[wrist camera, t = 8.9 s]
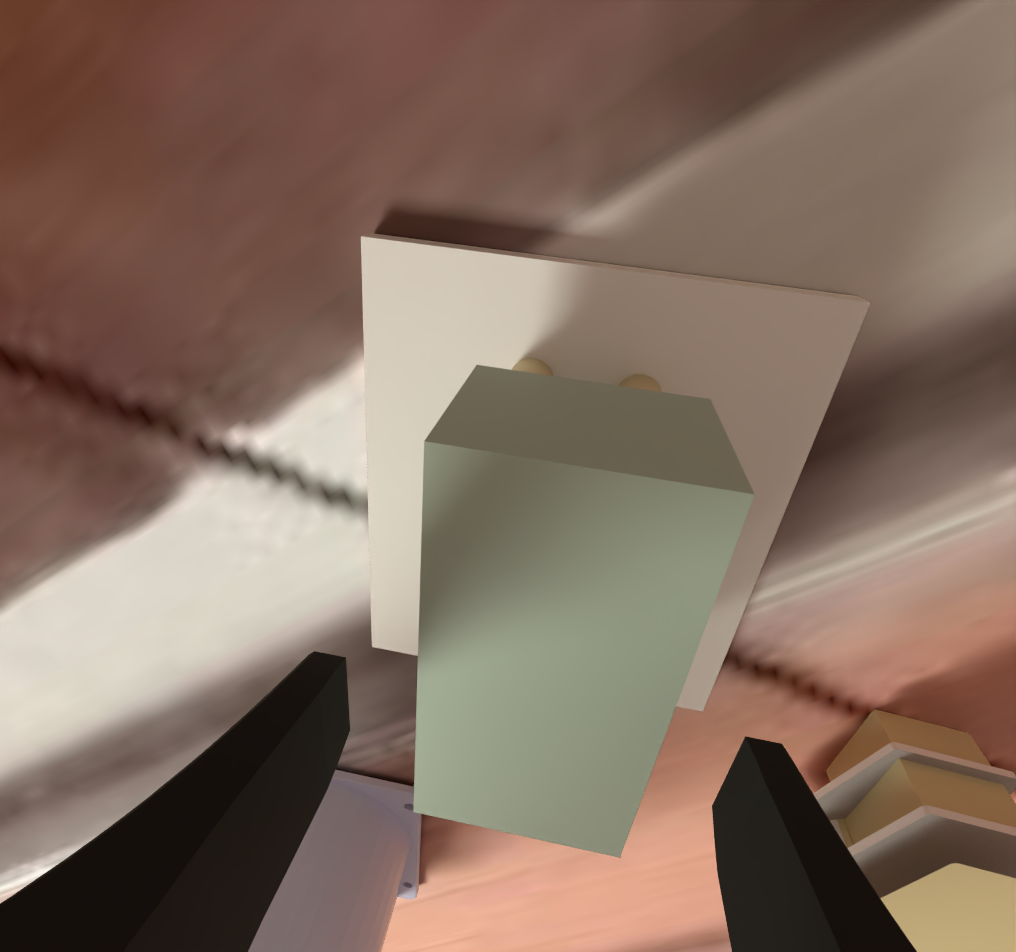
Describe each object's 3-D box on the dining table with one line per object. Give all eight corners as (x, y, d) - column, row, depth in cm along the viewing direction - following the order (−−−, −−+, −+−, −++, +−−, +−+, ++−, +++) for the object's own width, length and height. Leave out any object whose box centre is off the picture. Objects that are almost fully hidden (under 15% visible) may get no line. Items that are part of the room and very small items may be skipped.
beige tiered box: (804, 640, 19) (873, 800, 14) (1075, 707, 18) (1242, 895, 14) (700, 806, 24) (724, 966, 19) (911, 862, 23) (991, 1040, 18)
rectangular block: (617, 713, 16) (619, 857, 13) (452, 681, 17) (413, 812, 13) (710, 399, 12) (754, 494, 8) (476, 364, 12) (423, 441, 9)
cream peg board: (699, 693, 20) (714, 779, 17) (379, 631, 21) (344, 703, 18) (856, 295, 13) (926, 329, 10) (372, 233, 14) (314, 247, 11)
